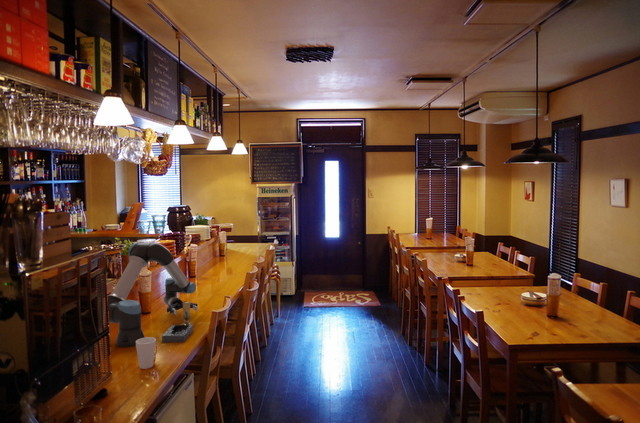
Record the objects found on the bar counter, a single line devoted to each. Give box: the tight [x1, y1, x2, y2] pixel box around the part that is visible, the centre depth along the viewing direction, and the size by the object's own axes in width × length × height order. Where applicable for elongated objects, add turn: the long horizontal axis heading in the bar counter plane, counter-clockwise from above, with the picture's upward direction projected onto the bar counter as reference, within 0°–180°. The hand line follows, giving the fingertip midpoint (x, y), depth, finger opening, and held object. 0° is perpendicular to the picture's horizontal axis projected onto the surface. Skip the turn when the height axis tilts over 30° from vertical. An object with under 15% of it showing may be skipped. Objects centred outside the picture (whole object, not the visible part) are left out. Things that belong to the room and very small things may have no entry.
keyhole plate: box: [161, 324, 194, 343], centre depth 262 cm, size 19×12×4 cm, turn 1°
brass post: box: [181, 300, 193, 325], centre depth 282 cm, size 6×6×15 cm
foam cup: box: [135, 336, 157, 370], centre depth 219 cm, size 10×9×13 cm
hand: (186, 310), depth 284 cm, fingers open, 13 cm apart
